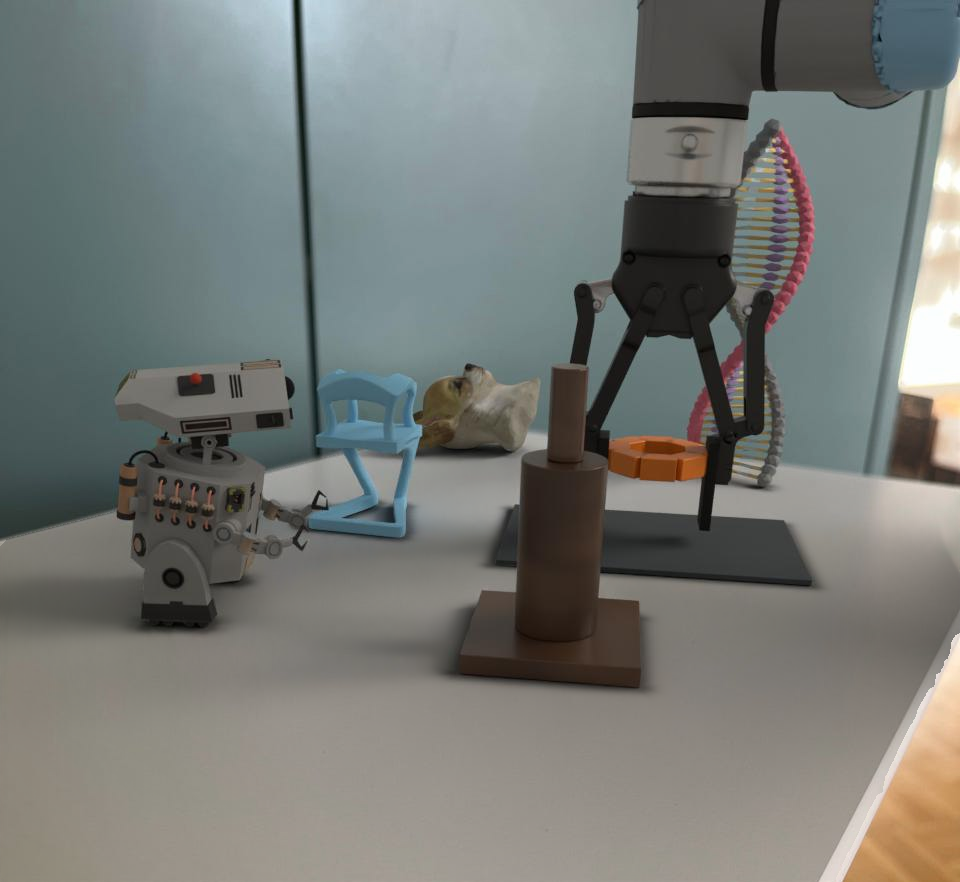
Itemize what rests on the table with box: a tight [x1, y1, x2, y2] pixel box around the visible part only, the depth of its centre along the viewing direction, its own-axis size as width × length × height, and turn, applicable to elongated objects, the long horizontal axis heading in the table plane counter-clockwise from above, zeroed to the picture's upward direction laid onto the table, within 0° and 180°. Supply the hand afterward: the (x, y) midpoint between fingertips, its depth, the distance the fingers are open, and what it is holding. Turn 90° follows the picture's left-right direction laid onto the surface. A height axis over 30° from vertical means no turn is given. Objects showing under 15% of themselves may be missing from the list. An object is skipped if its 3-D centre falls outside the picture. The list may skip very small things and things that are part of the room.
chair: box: [308, 368, 422, 539], centre depth 81 cm, size 8×8×12 cm
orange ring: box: [608, 435, 708, 483], centre depth 76 cm, size 7×7×2 cm
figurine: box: [114, 358, 329, 628], centre depth 63 cm, size 9×12×15 cm
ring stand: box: [458, 362, 643, 688], centre depth 58 cm, size 10×10×16 cm
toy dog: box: [412, 362, 541, 452], centre depth 104 cm, size 11×9×15 cm
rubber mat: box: [495, 503, 813, 586], centre depth 79 cm, size 22×14×1 cm, turn 83°
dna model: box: [686, 118, 816, 488], centre depth 91 cm, size 9×9×30 cm
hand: (650, 521), depth 78 cm, fingers closed on orange ring, 7 cm apart
